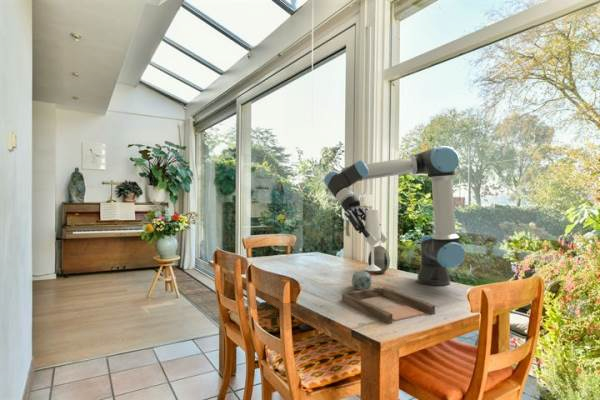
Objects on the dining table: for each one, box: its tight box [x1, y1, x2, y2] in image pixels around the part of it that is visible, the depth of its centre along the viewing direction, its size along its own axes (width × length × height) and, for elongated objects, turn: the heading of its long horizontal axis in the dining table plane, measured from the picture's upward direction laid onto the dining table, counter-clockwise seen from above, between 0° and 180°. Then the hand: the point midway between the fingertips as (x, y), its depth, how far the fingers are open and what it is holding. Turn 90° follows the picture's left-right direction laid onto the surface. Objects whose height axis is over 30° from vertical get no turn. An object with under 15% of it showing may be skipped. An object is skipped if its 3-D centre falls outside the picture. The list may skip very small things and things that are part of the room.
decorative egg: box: [367, 245, 391, 274], centre depth 194 cm, size 12×12×15 cm
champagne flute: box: [363, 209, 381, 272], centre depth 143 cm, size 7×7×24 cm
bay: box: [341, 286, 436, 325], centre depth 137 cm, size 22×29×3 cm
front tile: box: [383, 304, 426, 322], centre depth 129 cm, size 14×10×1 cm
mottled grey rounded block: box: [351, 270, 372, 291], centre depth 162 cm, size 14×10×10 cm
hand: (379, 241), depth 140 cm, fingers closed on champagne flute, 7 cm apart
